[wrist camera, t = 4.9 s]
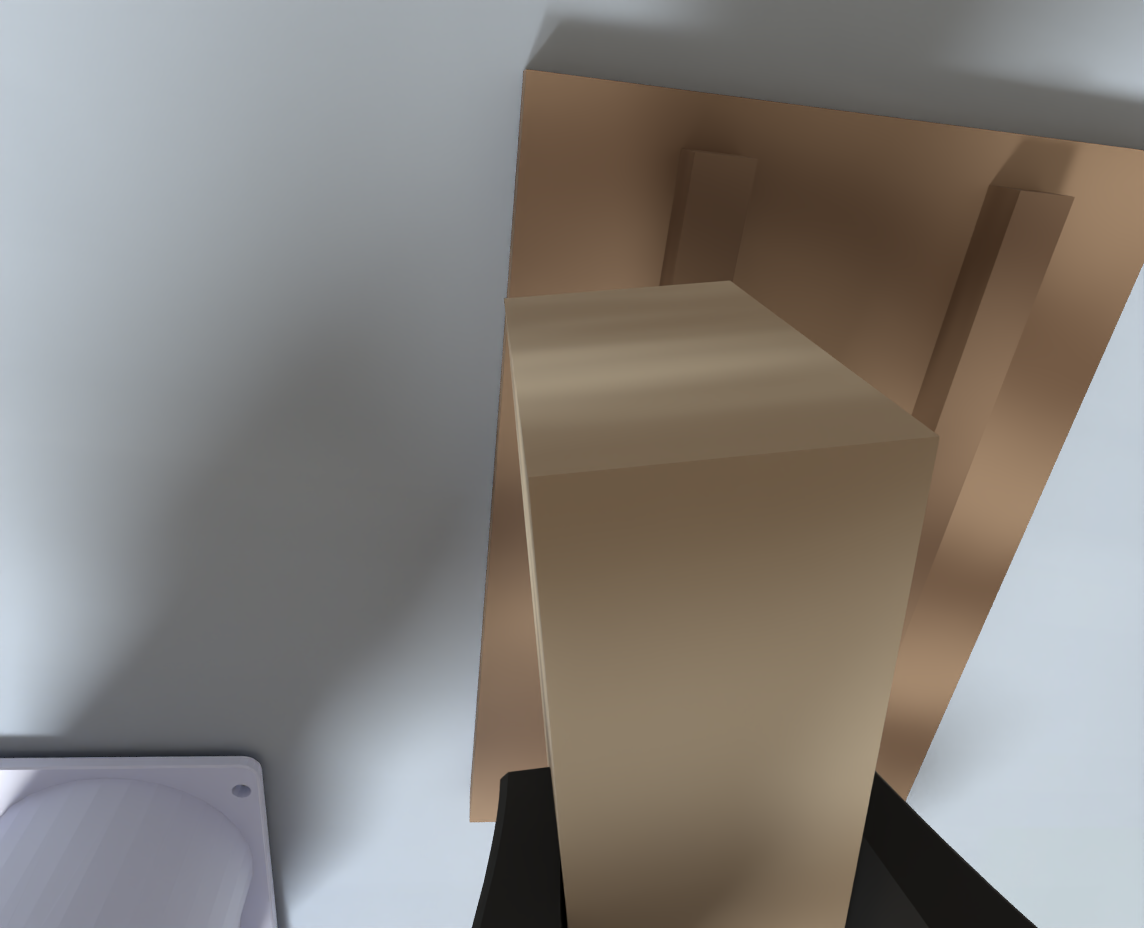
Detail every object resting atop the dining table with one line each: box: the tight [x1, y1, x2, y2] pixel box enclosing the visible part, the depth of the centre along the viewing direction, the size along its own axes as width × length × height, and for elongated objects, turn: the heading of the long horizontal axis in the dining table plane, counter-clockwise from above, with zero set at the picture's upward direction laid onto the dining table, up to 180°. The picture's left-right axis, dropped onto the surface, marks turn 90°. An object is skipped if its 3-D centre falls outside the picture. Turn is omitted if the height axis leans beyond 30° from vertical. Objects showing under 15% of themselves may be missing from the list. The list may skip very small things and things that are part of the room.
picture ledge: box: [470, 69, 1144, 822], centre depth 19 cm, size 20×14×2 cm
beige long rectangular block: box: [504, 281, 940, 928], centre depth 10 cm, size 12×3×5 cm, turn 3°
